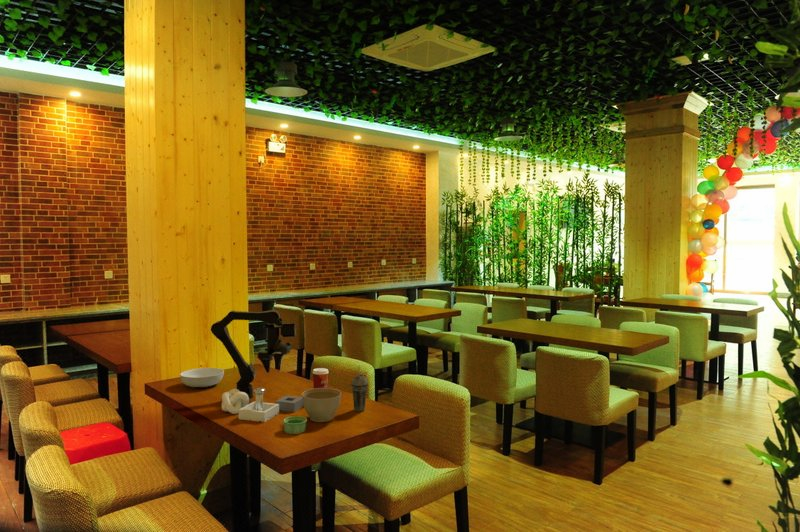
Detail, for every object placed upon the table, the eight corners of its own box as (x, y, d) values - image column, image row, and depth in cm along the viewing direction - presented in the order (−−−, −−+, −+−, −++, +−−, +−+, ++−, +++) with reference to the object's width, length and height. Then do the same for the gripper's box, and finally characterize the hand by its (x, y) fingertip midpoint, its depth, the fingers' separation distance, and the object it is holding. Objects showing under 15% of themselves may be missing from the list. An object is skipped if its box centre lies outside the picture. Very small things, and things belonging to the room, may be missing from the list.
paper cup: (325, 402, 248) (325, 372, 247) (309, 400, 250) (309, 370, 249) (330, 397, 256) (331, 368, 255) (315, 396, 257) (315, 367, 257)
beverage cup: (370, 408, 239) (370, 364, 238) (363, 413, 232) (364, 367, 231) (355, 407, 242) (355, 362, 241) (348, 411, 235) (348, 366, 234)
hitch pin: (251, 415, 225) (251, 390, 224) (257, 411, 229) (257, 387, 229) (261, 416, 224) (261, 391, 223) (267, 412, 228) (267, 388, 228)
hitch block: (275, 410, 235) (275, 401, 235) (285, 404, 244) (285, 395, 244) (294, 412, 233) (294, 403, 232) (303, 406, 241) (303, 397, 241)
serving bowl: (207, 378, 288) (207, 365, 287) (232, 384, 275) (232, 371, 275) (171, 386, 271) (171, 372, 271) (196, 393, 259) (196, 379, 258)
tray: (238, 419, 222) (238, 409, 222) (254, 410, 234) (254, 401, 234) (264, 422, 219) (264, 412, 219) (279, 413, 231) (279, 404, 231)
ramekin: (285, 436, 204) (285, 424, 204) (281, 428, 212) (281, 417, 212) (309, 433, 208) (309, 422, 208) (303, 425, 216) (303, 414, 216)
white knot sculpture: (213, 411, 232) (213, 390, 232) (237, 405, 241) (237, 385, 241) (227, 417, 225) (227, 396, 224) (252, 410, 234) (252, 390, 233)
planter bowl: (293, 419, 223) (293, 393, 223) (322, 410, 236) (323, 385, 235) (319, 428, 213) (319, 401, 213) (348, 418, 225) (349, 392, 225)
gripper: (279, 341, 241) (278, 376, 242) (297, 335, 259) (297, 367, 260) (256, 340, 244) (256, 374, 245) (276, 333, 262) (276, 365, 263)
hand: (272, 370), depth 253 cm, fingers open, 9 cm apart
